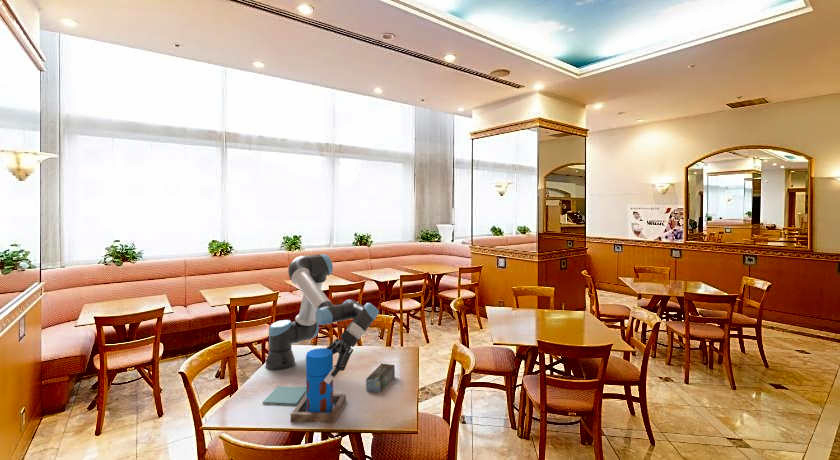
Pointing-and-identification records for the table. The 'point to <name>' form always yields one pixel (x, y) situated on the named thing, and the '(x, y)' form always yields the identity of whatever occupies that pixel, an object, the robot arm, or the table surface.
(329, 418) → the dock
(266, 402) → the mat
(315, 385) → the thermos
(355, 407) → the table surface
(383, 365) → the beverage carton
